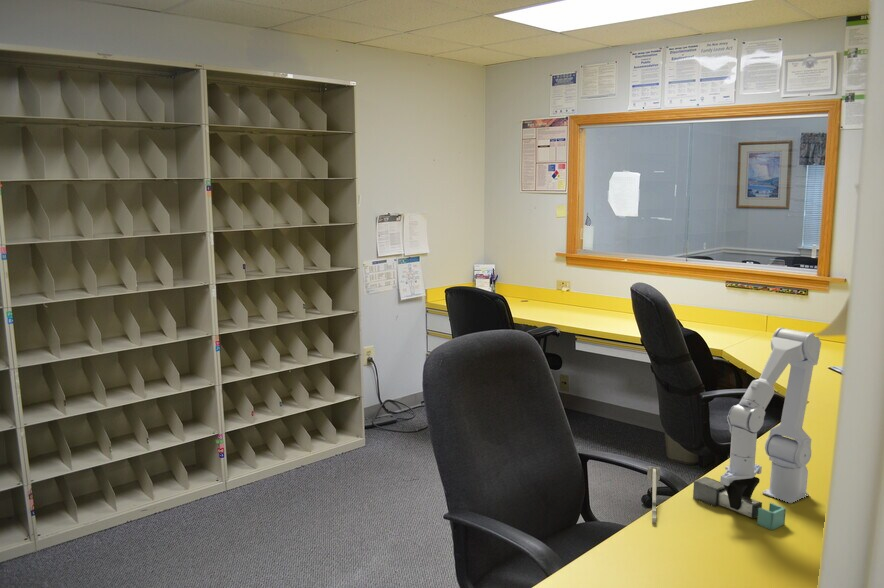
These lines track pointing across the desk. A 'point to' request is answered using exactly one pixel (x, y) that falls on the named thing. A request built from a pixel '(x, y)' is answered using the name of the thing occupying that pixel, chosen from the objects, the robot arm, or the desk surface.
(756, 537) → the desk surface
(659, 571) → the desk surface
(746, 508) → the long grey plank
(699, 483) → the sleeve
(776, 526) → the socket
